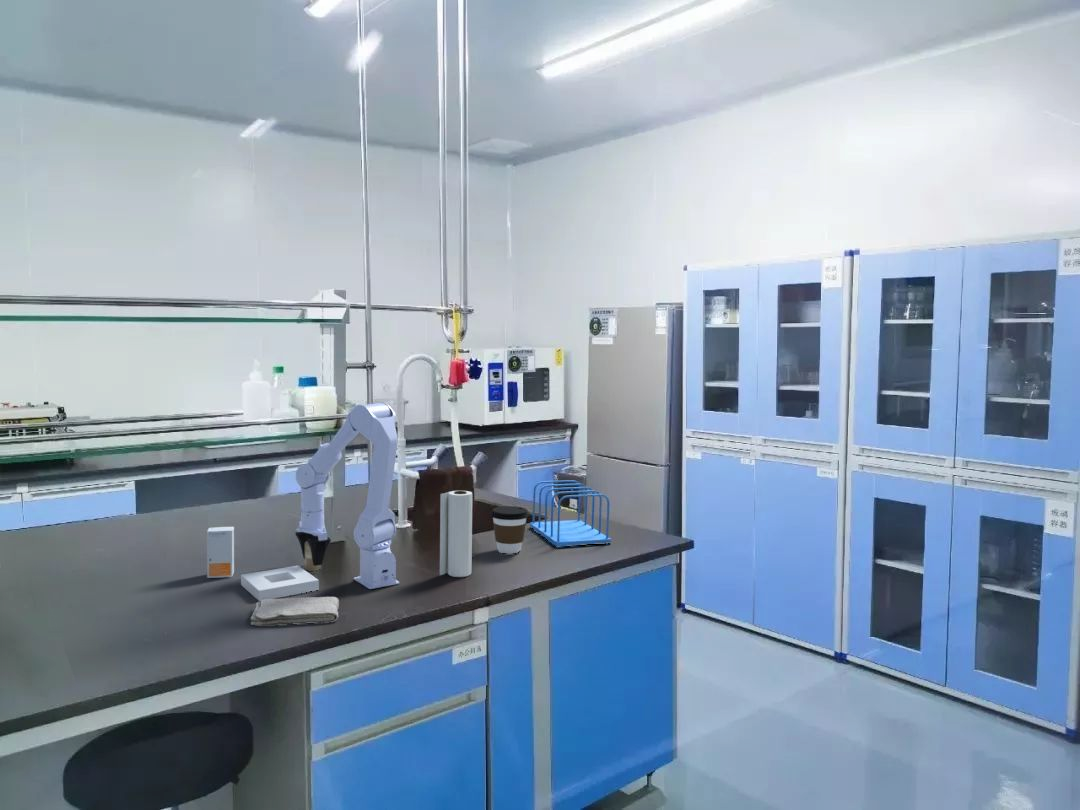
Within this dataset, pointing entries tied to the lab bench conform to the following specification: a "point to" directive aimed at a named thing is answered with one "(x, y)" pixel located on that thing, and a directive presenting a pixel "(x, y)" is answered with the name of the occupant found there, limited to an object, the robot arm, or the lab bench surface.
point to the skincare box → (220, 552)
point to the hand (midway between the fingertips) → (312, 561)
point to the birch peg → (309, 559)
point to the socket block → (279, 582)
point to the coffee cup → (509, 527)
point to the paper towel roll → (456, 533)
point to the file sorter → (574, 529)
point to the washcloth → (295, 611)
